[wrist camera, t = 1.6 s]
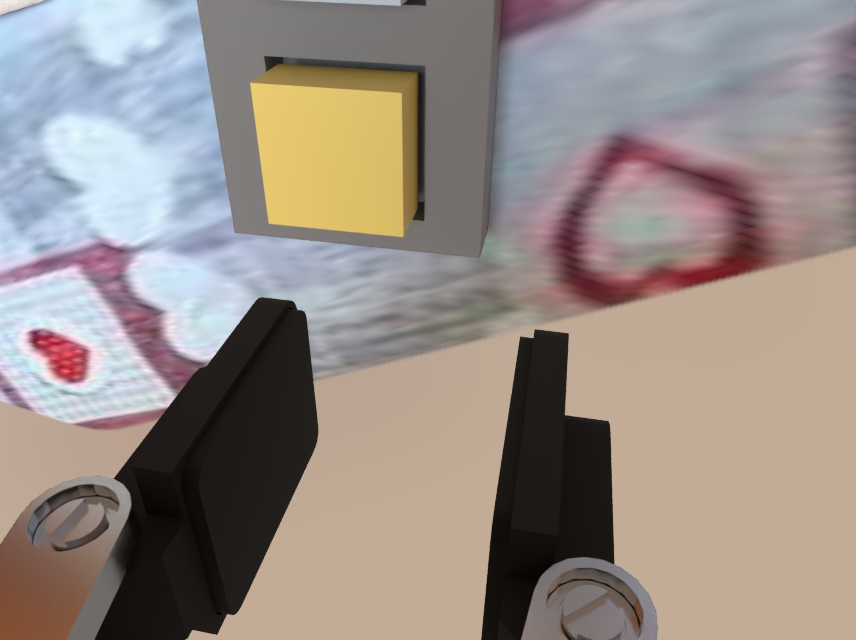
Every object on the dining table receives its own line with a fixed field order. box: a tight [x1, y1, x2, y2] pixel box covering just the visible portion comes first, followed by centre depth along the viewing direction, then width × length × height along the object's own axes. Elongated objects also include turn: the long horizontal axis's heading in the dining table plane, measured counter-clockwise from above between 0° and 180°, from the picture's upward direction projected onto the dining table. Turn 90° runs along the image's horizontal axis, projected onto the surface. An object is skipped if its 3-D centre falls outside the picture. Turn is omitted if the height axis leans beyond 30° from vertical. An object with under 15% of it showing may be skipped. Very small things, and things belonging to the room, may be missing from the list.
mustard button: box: [250, 64, 418, 237], centre depth 29 cm, size 6×6×3 cm
